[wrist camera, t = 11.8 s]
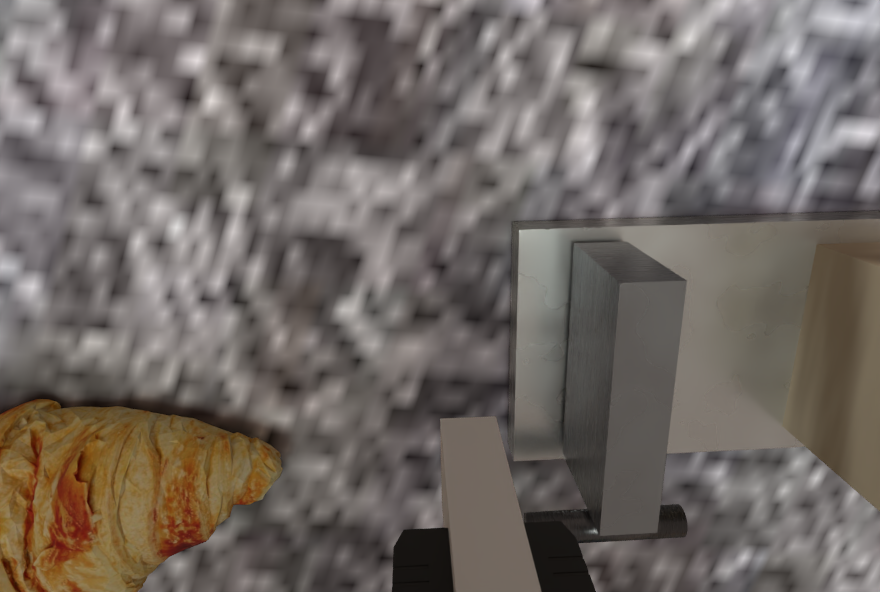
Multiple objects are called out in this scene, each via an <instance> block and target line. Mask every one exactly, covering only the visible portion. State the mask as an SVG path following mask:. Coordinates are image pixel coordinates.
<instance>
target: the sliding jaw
mask: <svg viewBox="0 0 880 592" xmlns="http://www.w3.org/2000/svg"><path fill="white" fill-rule="evenodd" d="M686 285H687V280H685V279H684V278H682V277H681V276H679V275H678V274H676V273H675V272H673V271H671V270H670V269H668V268H667V267H665V266H664V265H662V264H661V263H659V262H658V261H656V260H655V259H653V258H652V257H650V256H648V255H647V254H645V253H644V252H642V251H641V250H639V249H638V248H636V247H635V246H633V245H632V244H630V243H628V242H627V241H624V242H592V243H574V249H573V267H572V286H571V304H570V323H569V341H568V360H567V378H566V397H565V415H564V434H563V452H562V453H563V455H564V457H565V460H566V462H567V464H568V466H569V469H570V471H571V473H572V475H573V478H574V480H575V482H576V484H577V486H578V489H579V491H580V493H581V495H582V498H583V500H584V502H585V504H586V507H587V509H580V510H561V511H543V512H525V513H524V523H526V522H547V521H561V522H562V523H563V524H564V525H565V526H566V527H567V528H568V529H569V530H570V531H571V532H572V534H573V535H574V536H575V537H576V539H577V542H578V543H591V542H608V541H626V540H644V539H661V538H679V537H685V536H686V534H687V519H686V516H685V513H684V510H683V509H682V507H681V506H680V505H679V504H672V505H661V497H662V488H663V480H664V471H665V463H666V454H667V446H668V438H669V429H670V421H671V412H672V404H673V395H674V387H675V378H676V370H677V361H678V353H679V345H680V336H681V328H682V319H683V311H684V302H685V294H686Z"/></svg>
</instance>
